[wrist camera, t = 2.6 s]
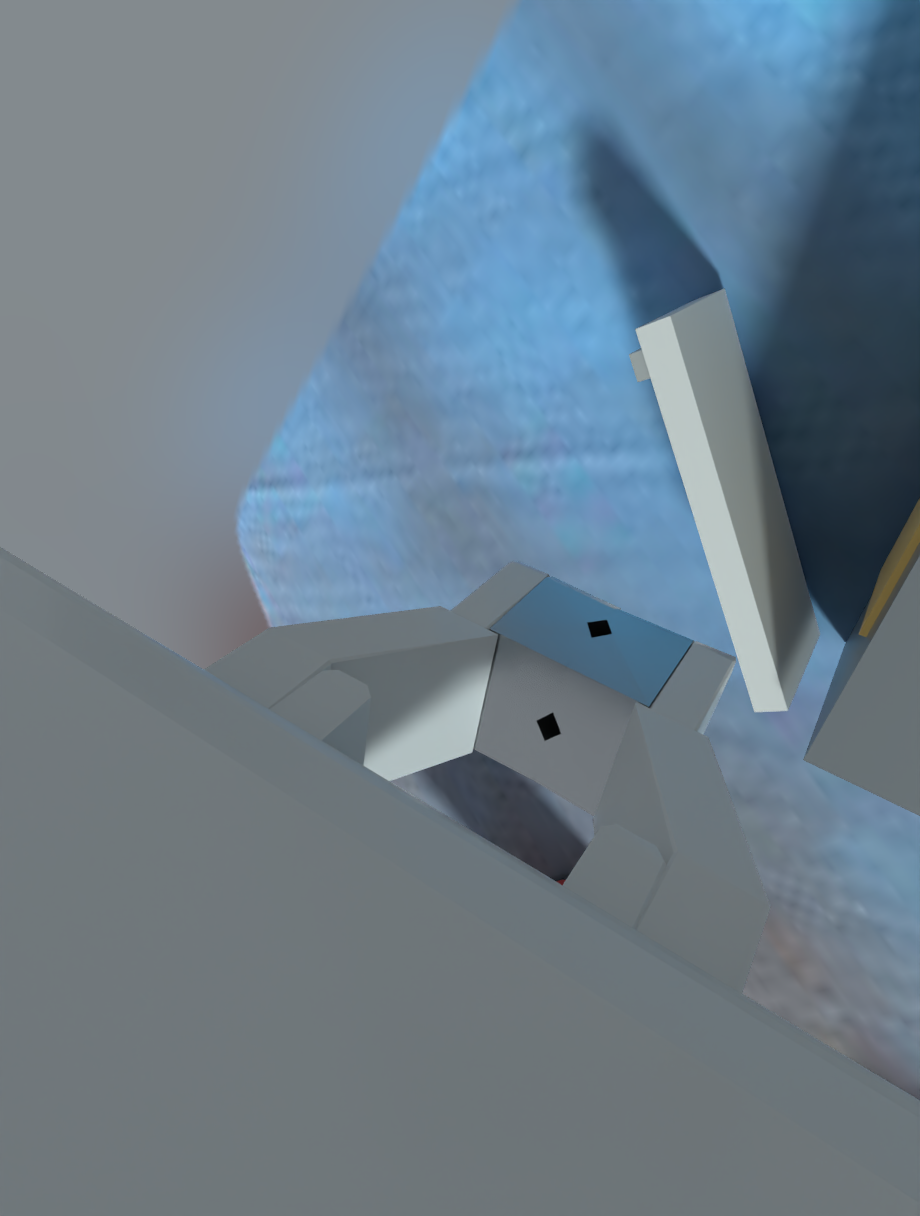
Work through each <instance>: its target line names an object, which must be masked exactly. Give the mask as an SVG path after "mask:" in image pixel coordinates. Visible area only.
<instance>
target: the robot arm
mask: <svg viewBox="0 0 920 1216" xmlns="http://www.w3.org/2000/svg"><path fill="white" fill-rule="evenodd" d="M735 663H736V657H734V656H732V655H729V654H727V653H724V652H722V651H719V650H717V649H714V648H712V647H709V646H707V645H704V644H702V643H699V642H694V640H691V639H689V638H687V637H684V636H682V635H679V634H677V633H675V632H672V631H670V630H667V629H665V628H663V627H660V626H658V625H655V624H653V623H651V622H648V621H646V620H643V619H641V618H639V617H636V616H634V615H632V614H629V613H627V612H624V611H622V610H621V608H618V607H616V606H614V605H612V604H610V603H608V602H606V601H604V600H601V599H599V598H597V597H595V596H593V595H591V594H589V593H587V592H584V591H582V590H580V589H578V588H576V587H574V586H572V585H570V584H567V583H565V582H563V581H561V580H559V579H557V578H555V577H553V576H552V577H550V576H549V574H547V573H544V572H542V571H540V570H538V569H535V568H533V567H531V566H528V565H526V564H524V563H521V562H519V561H512V562H510V563H508V564H507V565H506V566H505V567H503V568H502V569H501V570H500V571H498V572H497V573H496V574H495V575H494V576H492V577H491V578H490V579H489V580H487V581H486V582H485V583H484V584H482V585H481V586H480V587H479V588H478V589H476V590H475V591H474V592H473V593H471V594H470V595H469V596H468V597H466V598H465V599H464V600H463V601H461V602H460V603H459V604H458V605H457V606H455V607H454V608H453V609H452V610H450V611H449V610H447V609H445V608H443V607H441V606H439V607H431V608H423V609H415V610H407V611H399V612H391V613H383V614H375V615H367V616H359V617H351V618H343V619H335V620H327V621H319V622H311V623H303V624H295V625H287V626H279V627H271V628H268V629H266V630H265V631H263V632H262V633H260V634H259V635H257V636H256V637H254V638H253V639H251V640H249V641H248V642H246V643H245V644H243V645H241V646H240V647H239V648H237V649H235V650H234V651H232V652H231V653H229V654H227V655H226V656H224V657H223V658H221V659H220V660H218V661H217V662H215V663H213V664H212V665H210V666H209V667H207V668H206V669H202V668H200V667H199V666H197V665H195V664H194V663H192V662H190V661H188V660H187V659H185V658H184V657H182V656H180V655H179V654H177V653H175V652H174V651H172V650H170V649H169V648H167V647H165V646H164V645H162V644H160V643H159V642H157V641H155V640H154V639H152V638H151V637H149V636H147V635H145V634H144V633H142V632H140V631H139V630H137V629H136V628H134V627H132V626H130V625H129V624H127V623H126V622H124V621H122V620H121V619H119V618H117V617H116V616H114V615H112V614H111V613H109V612H107V611H106V610H104V609H102V608H101V607H99V606H97V605H96V604H94V603H92V602H91V601H89V600H87V599H86V598H84V597H82V596H81V595H79V594H77V593H76V592H74V591H72V590H71V589H69V588H67V587H66V586H64V585H63V584H61V583H59V582H58V581H56V580H54V579H53V578H51V577H49V576H48V575H46V574H44V573H43V572H41V571H39V570H38V569H36V568H34V567H33V566H31V565H29V564H28V563H26V562H24V561H23V560H21V559H19V558H18V557H16V556H15V555H13V554H11V553H10V552H8V551H6V550H4V549H3V548H1V547H0V1216H920V1100H918V1099H916V1098H915V1097H913V1096H911V1095H910V1094H908V1093H906V1092H905V1091H903V1090H901V1089H900V1088H898V1087H896V1086H895V1085H893V1084H891V1083H890V1082H888V1081H886V1080H885V1079H883V1078H881V1077H880V1076H878V1075H876V1074H875V1073H873V1072H871V1071H870V1070H868V1069H866V1068H865V1067H863V1066H861V1065H859V1064H858V1063H856V1062H854V1061H853V1060H851V1059H849V1058H848V1057H846V1056H844V1055H843V1054H841V1053H839V1052H838V1051H836V1050H834V1049H833V1048H831V1047H829V1046H828V1045H826V1044H824V1043H823V1042H821V1041H819V1040H818V1039H816V1038H814V1037H813V1036H811V1035H809V1034H808V1033H806V1032H804V1031H803V1030H801V1029H799V1028H798V1027H796V1026H794V1025H793V1024H791V1023H790V1022H788V1021H786V1020H785V1019H783V1018H781V1017H780V1016H778V1015H776V1014H775V1013H773V1012H771V1011H770V1010H768V1009H766V1008H765V1007H763V1006H761V1005H760V1004H758V1003H756V1002H755V1001H753V1000H751V999H750V998H748V997H746V996H745V995H743V994H742V992H743V989H744V986H745V983H746V980H747V977H748V974H749V971H750V968H751V965H752V962H753V959H754V956H755V953H756V950H757V947H758V944H759V941H760V938H761V935H762V932H763V929H764V926H765V923H766V920H767V917H768V914H769V911H770V908H771V906H770V903H769V900H768V898H767V895H766V892H765V890H764V887H763V884H762V882H761V879H760V876H759V873H758V871H757V868H756V865H755V863H754V860H753V857H752V854H751V852H750V849H749V846H748V844H747V841H746V838H745V835H744V833H743V830H742V827H741V825H740V822H739V819H738V816H737V814H736V811H735V808H734V806H733V803H732V800H731V797H730V795H729V792H728V789H727V787H726V784H725V781H724V778H723V776H722V773H721V770H720V768H719V765H718V762H717V759H716V757H715V754H714V751H713V749H712V746H711V743H710V740H709V738H708V737H707V736H705V735H703V734H704V732H705V730H706V728H707V725H708V723H709V721H710V719H711V717H712V714H713V712H714V710H715V708H716V706H717V704H718V701H719V699H720V697H721V695H722V693H723V690H724V688H725V686H726V684H727V682H728V679H729V677H730V675H731V673H732V670H733V668H734V665H735ZM473 749H474V750H476V751H478V752H480V753H482V754H484V755H486V756H488V757H490V758H492V759H493V760H495V761H497V762H499V763H501V764H503V765H505V766H507V767H509V768H511V769H513V770H514V771H516V772H518V773H520V774H522V775H524V776H526V777H528V778H530V779H532V780H534V781H535V782H537V783H539V784H540V785H542V786H544V787H545V788H547V789H549V790H550V791H552V792H554V793H555V794H557V795H559V796H561V797H562V798H564V799H566V800H567V801H569V802H571V803H572V804H574V805H576V806H578V807H579V808H581V809H583V810H584V811H586V812H588V813H589V814H591V815H593V816H594V818H593V825H594V835H595V836H594V838H593V839H592V841H591V842H590V844H589V845H588V847H587V848H586V850H585V851H584V853H583V855H582V856H581V858H580V859H579V861H578V862H577V864H576V865H575V867H574V868H573V870H572V871H571V873H570V875H569V876H568V878H567V879H566V881H565V882H564V884H563V885H561V884H559V883H558V882H556V881H554V880H553V879H551V878H549V877H548V876H546V875H544V874H543V873H541V872H539V871H538V870H536V869H535V868H533V867H531V866H530V865H528V864H526V863H525V862H523V861H521V860H520V859H518V858H516V857H515V856H513V855H511V854H510V853H508V852H506V851H505V850H503V849H501V848H500V847H498V846H496V845H495V844H493V843H491V842H490V841H488V840H486V839H485V838H483V837H481V836H480V835H478V834H476V833H475V832H473V831H471V830H470V829H468V828H466V827H465V826H463V825H461V824H460V823H458V822H456V821H455V820H453V819H451V818H450V817H448V816H446V815H445V814H443V813H441V812H440V811H438V810H436V809H435V808H433V807H431V806H430V805H428V804H426V803H425V802H423V801H421V800H420V799H418V798H416V797H415V796H413V795H411V794H410V793H408V792H406V791H405V790H403V789H401V788H400V787H398V786H396V785H395V784H393V783H391V782H390V781H391V780H394V779H397V778H400V777H403V776H406V775H409V774H412V773H414V772H417V771H420V770H423V769H426V768H429V767H432V766H435V765H438V764H440V763H443V762H446V761H449V760H452V759H455V758H458V757H461V756H464V755H466V754H469V753H472V751H473Z"/></svg>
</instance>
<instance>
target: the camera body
mask: <svg viewBox="0 0 920 1216" xmlns="http://www.w3.org/2000/svg"><path fill="white" fill-rule="evenodd" d="M803 760H804V761H806V762H809V763H811V764H813V765H815V766H817V767H819V768H821V769H823V770H825V771H827V772H829V773H831V774H834V775H836V776H838V777H840V778H842V779H844V780H846V781H848V782H850V783H852V784H854V785H856V786H859V787H861V788H863V789H865V790H867V791H869V792H871V793H873V794H875V795H877V796H879V797H882V798H884V799H886V800H888V801H890V802H892V803H894V804H896V805H898V806H900V807H902V808H904V809H907V810H909V811H911V812H913V813H915V814H917V815H919V816H920V498H919V500H918V502H917V504H916V506H915V507H914V509H913V511H912V513H911V515H910V517H909V518H908V520H907V522H906V524H905V526H904V528H903V530H902V531H901V533H900V535H899V537H898V539H897V541H896V542H895V544H894V546H893V548H892V550H891V552H890V554H889V555H888V557H887V559H886V561H885V563H884V565H883V566H882V568H881V570H880V573H879V576H878V579H877V582H876V585H875V588H874V591H873V594H872V596H871V598H870V600H869V602H868V603H867V605H866V607H865V609H864V611H863V613H862V614H861V616H860V618H859V620H858V622H857V624H856V625H855V627H854V629H853V631H852V633H851V634H850V636H849V638H848V640H847V642H846V644H845V646H844V649H843V652H842V655H841V657H840V660H839V663H838V666H837V668H836V671H835V674H834V677H833V679H832V682H831V685H830V688H829V690H828V693H827V696H826V699H825V701H824V704H823V707H822V710H821V712H820V715H819V718H818V721H817V723H816V726H815V729H814V732H813V735H812V737H811V740H810V743H809V746H808V748H807V751H806V754H805V757H804V759H803Z"/></svg>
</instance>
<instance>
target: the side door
mask: <svg viewBox="0 0 920 1216" xmlns="http://www.w3.org/2000/svg"><path fill="white" fill-rule="evenodd" d="M635 330H636V333H637V336H638V339H639V343H640V346H641V348H640V349H638V350H636V351H635V352H633V353H631V354H629V356H630V359H631V363H632V366H633V369H634V372H635V375H636V378H637V381H638V382H640V381H643V380H646V379H649V378H651V381H652V384H653V387H654V391H655V394H656V397H657V400H658V404H659V407H660V410H661V413H662V416H663V420H664V423H665V426H666V429H667V432H668V436H669V439H670V442H671V445H672V448H673V452H674V455H675V458H676V461H677V465H678V468H679V471H680V474H681V477H682V481H683V484H684V487H685V490H686V493H687V497H688V500H689V503H690V506H691V509H692V513H693V516H694V519H695V522H696V526H697V529H698V532H699V535H700V538H701V542H702V545H703V548H704V551H705V554H706V558H707V561H708V564H709V567H710V570H711V574H712V577H713V580H714V583H715V586H716V590H717V593H718V596H719V599H720V603H721V606H722V609H723V612H724V615H725V619H726V622H727V625H728V628H729V631H730V635H731V638H732V641H733V644H734V647H735V651H736V654H737V657H738V660H739V664H740V667H741V670H742V673H743V676H744V680H745V683H746V686H747V689H748V692H749V696H750V699H751V702H752V705H753V708H754V712H771V711H788V709H789V707H790V705H791V702H792V700H793V698H794V695H795V693H796V690H797V688H798V686H799V683H800V681H801V679H802V676H803V674H804V671H805V669H806V667H807V664H808V662H809V660H810V657H811V655H812V652H813V650H814V648H815V645H816V643H817V641H818V638H819V636H820V631H819V628H818V624H817V620H816V617H815V613H814V610H813V606H812V602H811V599H810V595H809V592H808V588H807V584H806V581H805V577H804V573H803V570H802V566H801V563H800V559H799V555H798V552H797V548H796V545H795V541H794V537H793V534H792V530H791V526H790V523H789V519H788V516H787V512H786V508H785V505H784V501H783V498H782V494H781V490H780V487H779V483H778V479H777V476H776V472H775V469H774V465H773V461H772V458H771V454H770V451H769V447H768V443H767V440H766V436H765V432H764V429H763V425H762V422H761V418H760V414H759V411H758V407H757V404H756V400H755V396H754V393H753V389H752V385H751V382H750V378H749V375H748V371H747V367H746V364H745V360H744V357H743V353H742V349H741V346H740V342H739V338H738V335H737V331H736V328H735V324H734V320H733V317H732V313H731V310H730V306H729V302H728V299H727V295H726V291H725V288H724V289H721V290H719V291H716V292H714V293H711V294H709V295H706V296H703V297H701V298H698V299H696V300H693V301H691V302H689V303H687V304H685V305H683V306H681V307H679V308H677V309H675V310H673V311H671V312H669V313H667V314H665V315H663V316H661V317H659V318H657V319H655V320H653V321H651V322H649V323H647V324H645V325H643V326H641V327H639V328H637V329H635Z"/></svg>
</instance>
